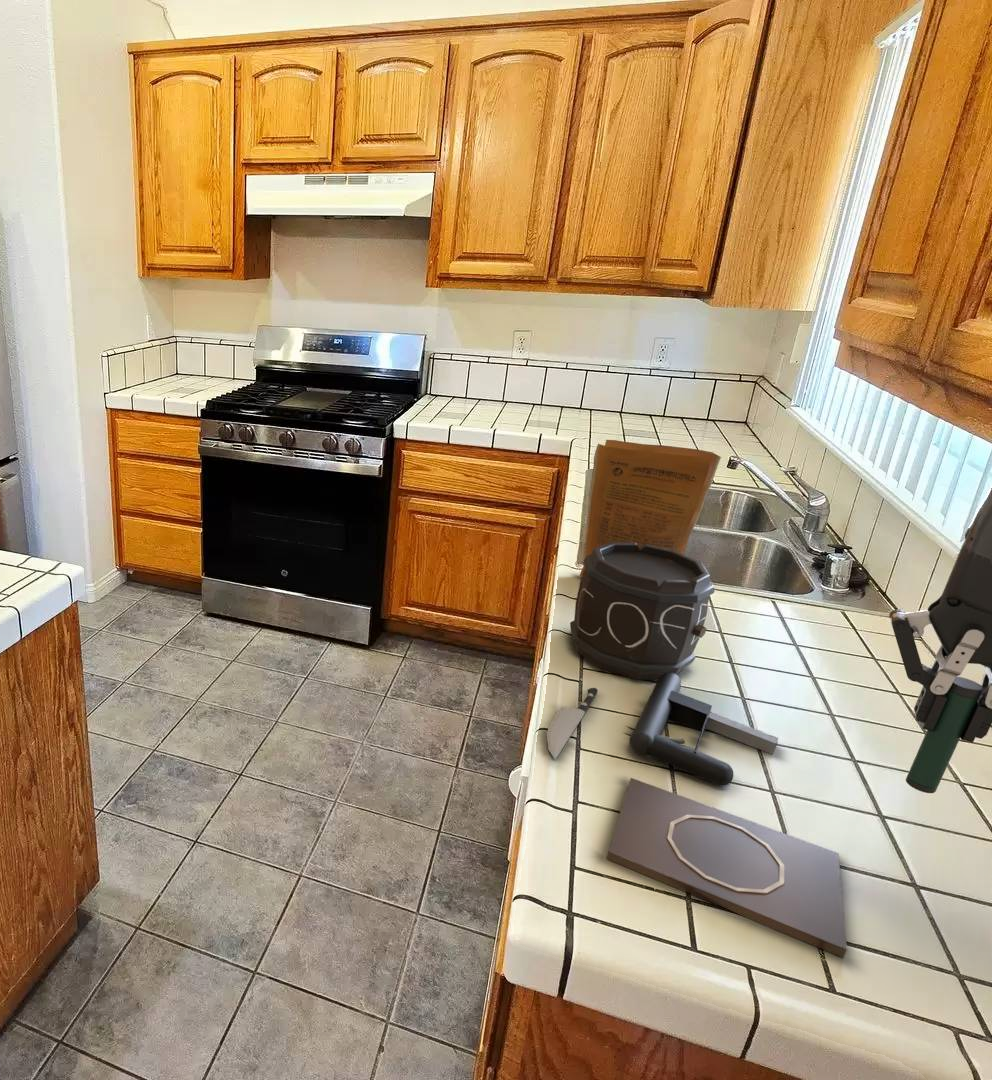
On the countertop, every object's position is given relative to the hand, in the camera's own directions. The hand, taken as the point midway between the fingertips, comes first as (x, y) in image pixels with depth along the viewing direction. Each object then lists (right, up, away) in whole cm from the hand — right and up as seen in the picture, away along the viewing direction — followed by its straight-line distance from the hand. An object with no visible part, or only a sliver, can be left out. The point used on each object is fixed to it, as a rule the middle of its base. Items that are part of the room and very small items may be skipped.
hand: (945, 730), depth 67 cm
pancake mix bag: (+5, +8, +72) cm, 73 cm away
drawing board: (-14, -16, +10) cm, 23 cm away
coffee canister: (-5, -1, +49) cm, 50 cm away
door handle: (-5, -9, +30) cm, 31 cm away
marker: (0, -6, +2) cm, 6 cm away
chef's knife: (-21, -7, +32) cm, 39 cm away
